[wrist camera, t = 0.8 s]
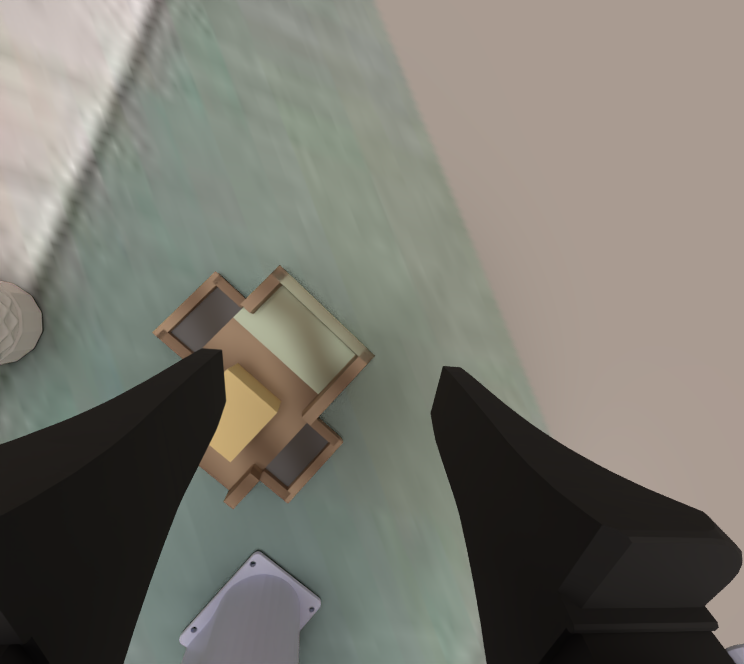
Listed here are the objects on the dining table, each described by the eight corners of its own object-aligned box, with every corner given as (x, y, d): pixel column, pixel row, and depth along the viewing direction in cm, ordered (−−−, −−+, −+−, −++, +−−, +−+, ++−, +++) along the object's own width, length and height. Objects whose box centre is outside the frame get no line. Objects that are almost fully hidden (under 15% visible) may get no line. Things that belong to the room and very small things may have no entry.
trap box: (268, 518, 31) (265, 535, 29) (104, 385, 28) (84, 391, 26) (395, 378, 33) (403, 382, 30) (252, 241, 30) (247, 233, 28)
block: (240, 444, 30) (230, 462, 26) (195, 406, 29) (177, 419, 25) (281, 401, 30) (277, 412, 27) (238, 363, 30) (227, 368, 26)
